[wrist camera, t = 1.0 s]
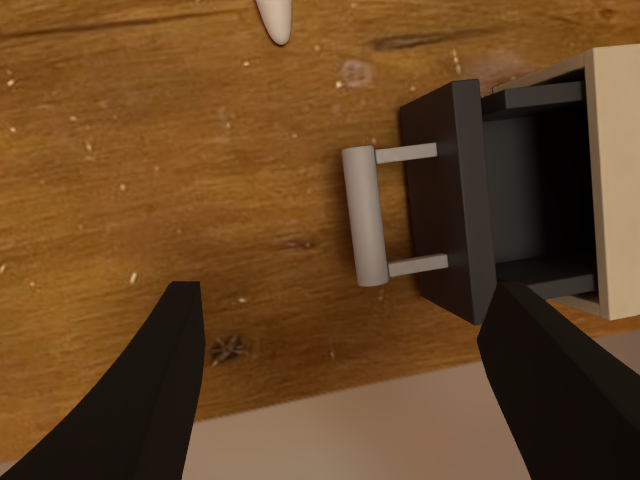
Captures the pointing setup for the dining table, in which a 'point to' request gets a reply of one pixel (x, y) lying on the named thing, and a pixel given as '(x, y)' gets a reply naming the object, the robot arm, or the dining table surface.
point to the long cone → (276, 18)
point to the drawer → (484, 195)
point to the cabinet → (608, 170)
